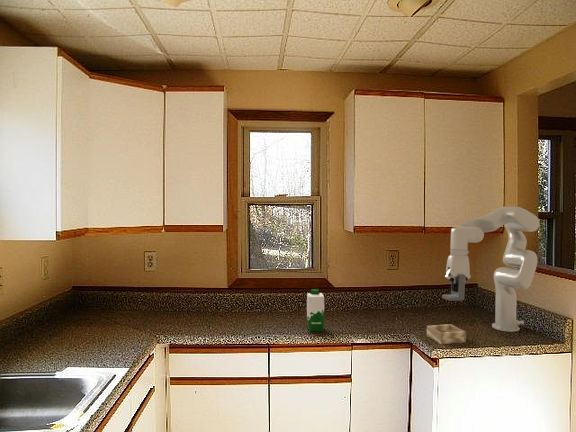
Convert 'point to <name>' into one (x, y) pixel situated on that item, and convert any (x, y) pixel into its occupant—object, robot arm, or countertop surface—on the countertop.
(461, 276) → the steel L-bracket
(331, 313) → the countertop surface
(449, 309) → the countertop surface
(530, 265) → the robot arm
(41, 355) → the countertop surface
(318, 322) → the milk carton
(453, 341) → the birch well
